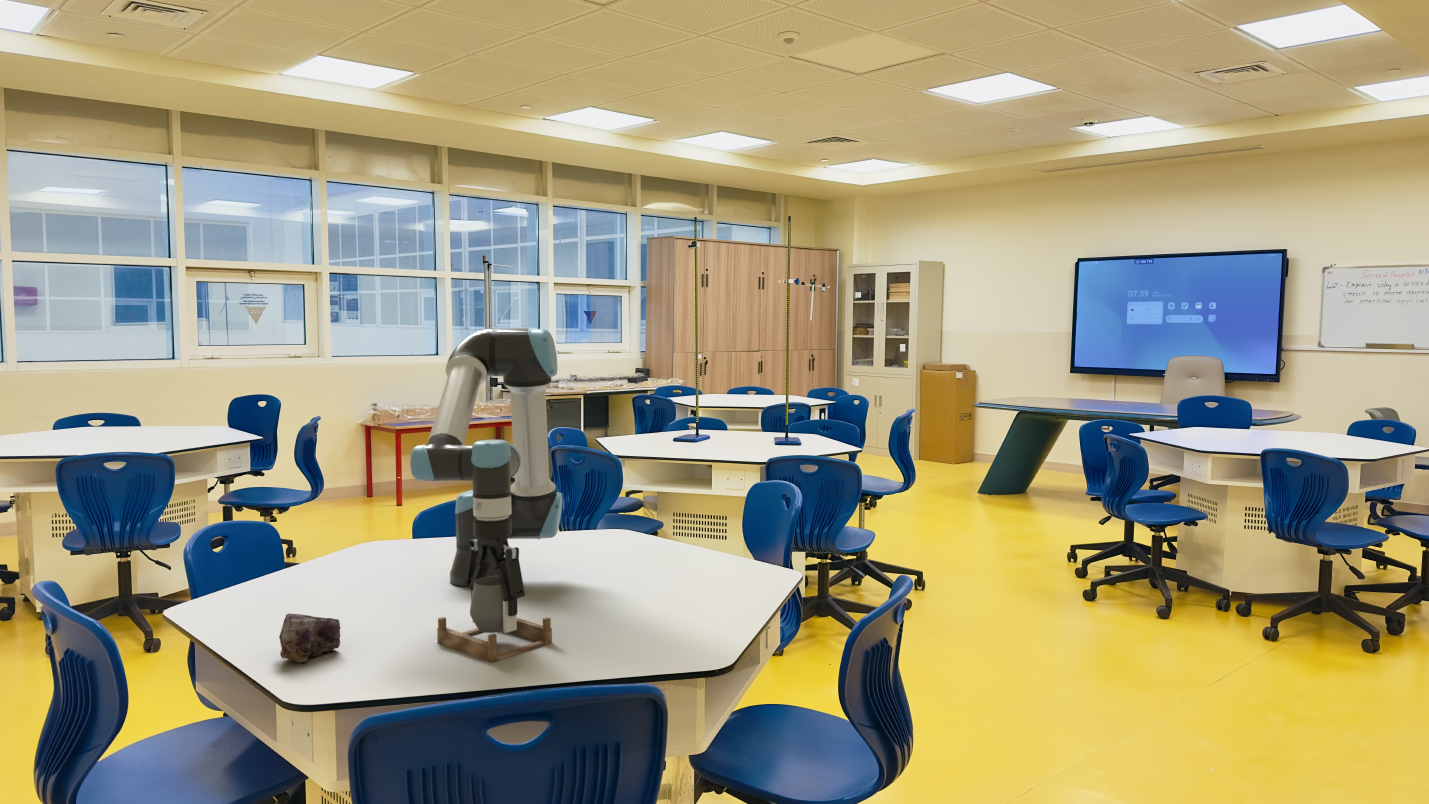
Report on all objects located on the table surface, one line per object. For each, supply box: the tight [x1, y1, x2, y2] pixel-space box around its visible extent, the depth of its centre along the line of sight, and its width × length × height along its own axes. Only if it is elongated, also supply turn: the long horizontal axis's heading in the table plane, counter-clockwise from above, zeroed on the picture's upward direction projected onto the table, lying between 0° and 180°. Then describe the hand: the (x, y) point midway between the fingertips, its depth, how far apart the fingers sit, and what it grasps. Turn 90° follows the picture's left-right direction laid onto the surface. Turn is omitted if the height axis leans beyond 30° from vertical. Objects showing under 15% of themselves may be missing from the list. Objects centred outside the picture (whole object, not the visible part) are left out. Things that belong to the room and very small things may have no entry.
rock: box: [278, 613, 341, 664], centre depth 181 cm, size 12×9×10 cm
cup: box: [469, 576, 511, 634], centre depth 188 cm, size 10×9×10 cm
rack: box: [436, 616, 553, 663], centre depth 189 cm, size 18×15×5 cm
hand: (494, 625), depth 189 cm, fingers closed on cup, 9 cm apart
